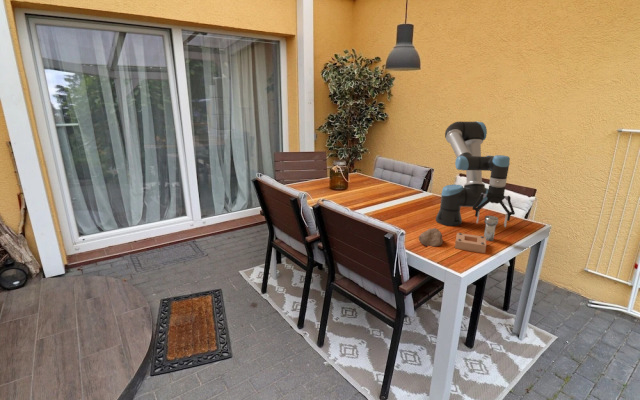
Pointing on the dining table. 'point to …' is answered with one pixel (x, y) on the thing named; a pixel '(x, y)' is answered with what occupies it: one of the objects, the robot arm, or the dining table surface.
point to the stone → (431, 237)
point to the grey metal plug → (490, 227)
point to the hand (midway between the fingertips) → (490, 224)
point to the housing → (470, 242)
